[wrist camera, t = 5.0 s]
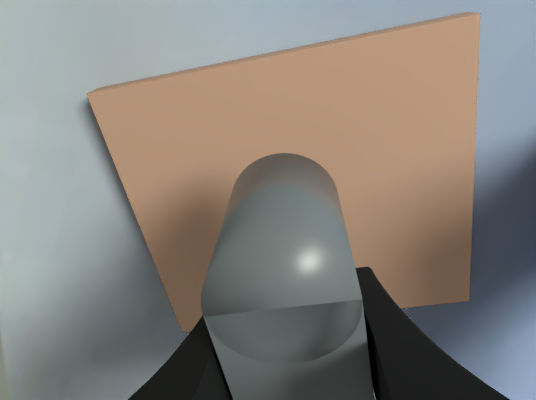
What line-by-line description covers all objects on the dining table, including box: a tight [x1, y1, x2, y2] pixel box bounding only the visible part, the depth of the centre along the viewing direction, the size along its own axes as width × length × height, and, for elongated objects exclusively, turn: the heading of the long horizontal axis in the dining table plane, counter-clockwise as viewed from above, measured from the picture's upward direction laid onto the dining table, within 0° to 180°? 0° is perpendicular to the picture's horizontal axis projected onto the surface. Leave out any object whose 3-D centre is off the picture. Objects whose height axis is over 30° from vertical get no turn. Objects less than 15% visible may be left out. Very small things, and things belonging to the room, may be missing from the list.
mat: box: [87, 12, 481, 332], centre depth 19 cm, size 16×14×1 cm
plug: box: [201, 153, 374, 400], centre depth 13 cm, size 4×11×5 cm, turn 11°
